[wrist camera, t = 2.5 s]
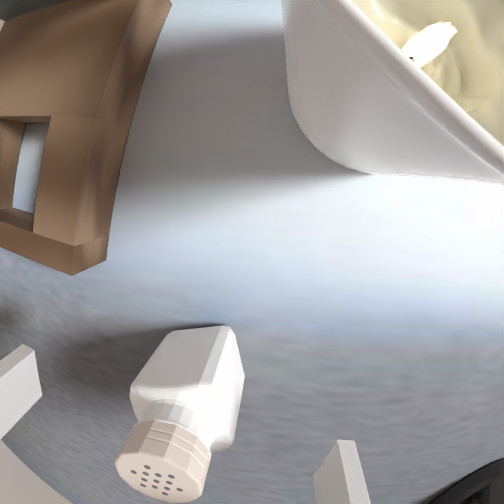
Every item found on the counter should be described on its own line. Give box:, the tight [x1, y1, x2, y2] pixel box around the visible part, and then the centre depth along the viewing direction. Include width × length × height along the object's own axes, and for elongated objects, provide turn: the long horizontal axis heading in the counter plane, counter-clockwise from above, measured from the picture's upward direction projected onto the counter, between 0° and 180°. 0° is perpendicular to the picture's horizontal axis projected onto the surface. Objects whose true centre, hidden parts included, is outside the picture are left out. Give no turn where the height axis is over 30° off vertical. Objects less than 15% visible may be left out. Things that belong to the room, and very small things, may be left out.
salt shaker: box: [114, 325, 245, 503], centre depth 12 cm, size 4×4×10 cm
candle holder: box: [281, 0, 504, 185], centre depth 8 cm, size 10×10×12 cm
